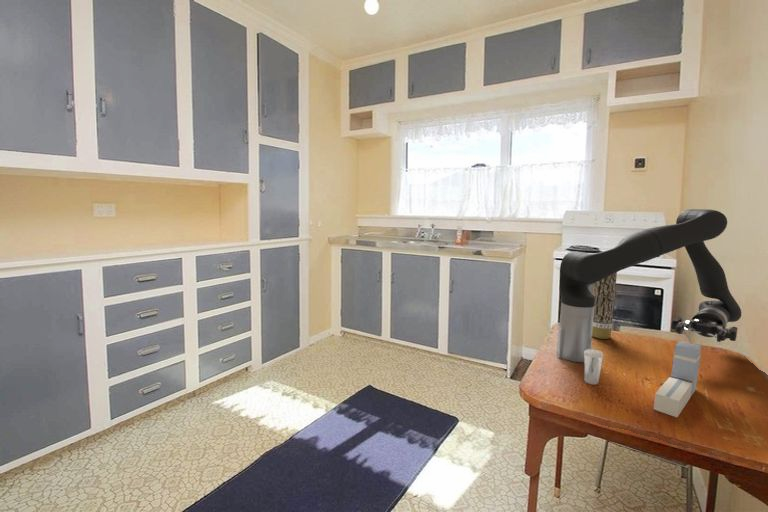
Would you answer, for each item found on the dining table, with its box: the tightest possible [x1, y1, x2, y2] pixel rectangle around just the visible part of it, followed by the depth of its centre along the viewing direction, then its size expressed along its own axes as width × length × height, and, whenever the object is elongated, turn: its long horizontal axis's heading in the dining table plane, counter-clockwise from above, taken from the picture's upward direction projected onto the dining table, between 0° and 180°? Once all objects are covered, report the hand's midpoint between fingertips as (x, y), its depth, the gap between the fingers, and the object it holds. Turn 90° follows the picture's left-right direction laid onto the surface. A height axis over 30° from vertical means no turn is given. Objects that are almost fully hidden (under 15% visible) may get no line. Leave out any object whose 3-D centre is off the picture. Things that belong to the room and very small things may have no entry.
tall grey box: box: [671, 340, 702, 397], centre depth 98 cm, size 5×5×12 cm
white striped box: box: [653, 374, 693, 418], centre depth 92 cm, size 15×4×4 cm, turn 131°
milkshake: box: [583, 342, 604, 385], centre depth 102 cm, size 4×5×10 cm
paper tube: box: [592, 272, 618, 340], centre depth 136 cm, size 7×7×25 cm
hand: (698, 334), depth 104 cm, fingers open, 8 cm apart
